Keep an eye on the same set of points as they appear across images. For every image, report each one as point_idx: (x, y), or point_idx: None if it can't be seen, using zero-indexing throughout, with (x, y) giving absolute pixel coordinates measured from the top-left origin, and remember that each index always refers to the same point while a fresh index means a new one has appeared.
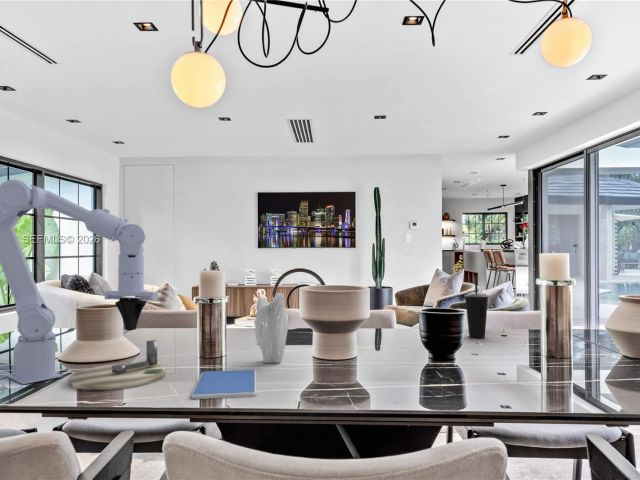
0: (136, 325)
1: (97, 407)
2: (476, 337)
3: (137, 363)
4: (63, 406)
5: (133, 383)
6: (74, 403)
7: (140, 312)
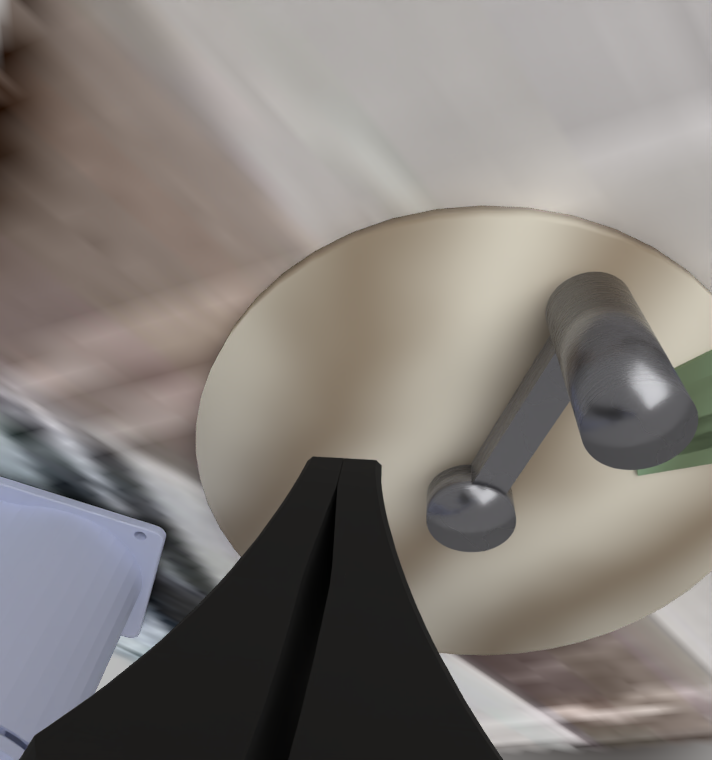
0: (380, 489)
1: (670, 742)
2: None
3: (543, 435)
4: (537, 746)
5: (678, 592)
6: (552, 727)
7: (428, 638)
